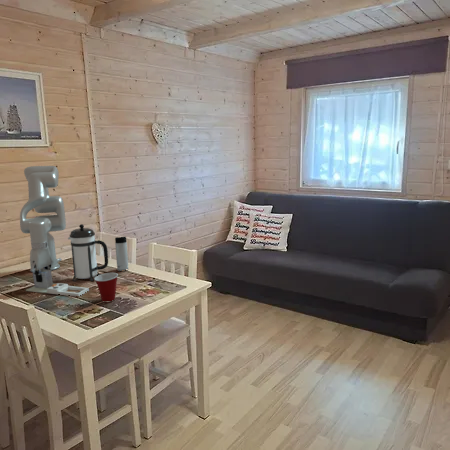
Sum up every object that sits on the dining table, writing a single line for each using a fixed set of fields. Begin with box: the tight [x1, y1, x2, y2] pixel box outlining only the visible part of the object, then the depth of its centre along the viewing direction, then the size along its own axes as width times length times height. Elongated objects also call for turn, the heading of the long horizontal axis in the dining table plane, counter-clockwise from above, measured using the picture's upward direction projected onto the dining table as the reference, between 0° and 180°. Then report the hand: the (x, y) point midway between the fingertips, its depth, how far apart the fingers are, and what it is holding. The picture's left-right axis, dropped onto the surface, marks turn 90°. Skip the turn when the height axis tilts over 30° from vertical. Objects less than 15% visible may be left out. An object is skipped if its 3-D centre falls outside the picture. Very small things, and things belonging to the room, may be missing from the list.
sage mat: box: [25, 282, 58, 294], centre depth 204 cm, size 12×12×1 cm
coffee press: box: [67, 223, 109, 282], centre depth 215 cm, size 17×16×30 cm
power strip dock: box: [46, 282, 90, 297], centre depth 197 cm, size 8×18×3 cm, turn 73°
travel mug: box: [114, 236, 129, 272], centre depth 229 cm, size 6×7×20 cm
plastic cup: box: [93, 272, 119, 302], centre depth 186 cm, size 11×11×12 cm
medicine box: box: [32, 269, 54, 288], centre depth 203 cm, size 8×4×9 cm, turn 74°
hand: (43, 279), depth 203 cm, fingers open, 5 cm apart
